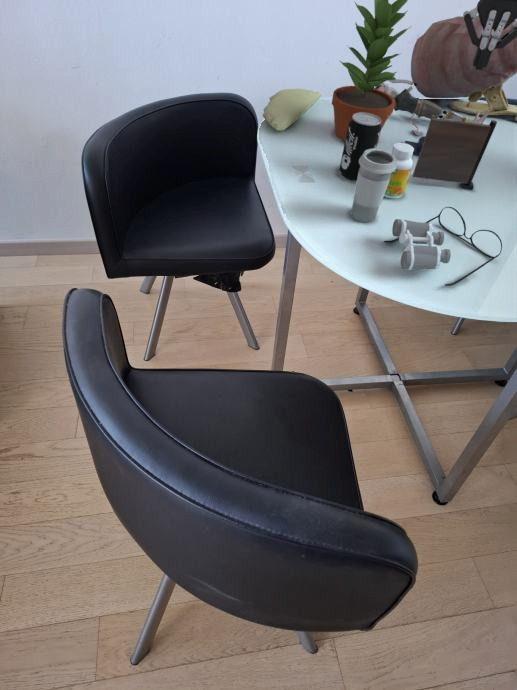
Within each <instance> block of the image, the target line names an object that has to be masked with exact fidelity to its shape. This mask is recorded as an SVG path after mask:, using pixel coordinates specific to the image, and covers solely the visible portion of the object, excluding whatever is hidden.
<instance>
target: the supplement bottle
mask: <svg viewBox="0 0 517 690" xmlns="http://www.w3.org/2000/svg"><path fill="white" fill-rule="evenodd" d="M413 151H414V148H413V147H412V146H411V145H409V144H406V143H405V142H396V143H394V144H393V145H392V149H391V153H392V154H393V155H394V156H395V158H396V161H395V162H396V169H395V171H393V172H392V173H391V178H390V181H389V183H388V186H387V189H386V191H385V194H384V197H383V198H388V199H392V200H393V199H395V200H396V199H400V198H401V197H403V195H404V193H405V190H406V187H407V183H408V181H409V177H410V174H411V171H412V169H413V165H414V161H413V159H412V156H413Z"/></svg>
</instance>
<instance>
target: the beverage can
mask: <svg viewBox="0 0 517 690" xmlns="http://www.w3.org/2000/svg"><path fill="white" fill-rule="evenodd" d="M380 123H381V119H380V118H379V117H378V116H376V115H374V114H370V113H363V112H361V113H356V114H354V115H353V117H352V120H351V121H350V122H349V125H348V130H347V135H346V139H345V141H344V145H343V149H342V154H341V159H340V164H339V172H340V174H341V176H342V177H343V178H345V179H346V180H348V181H352V182H353V181H355V182H357V177H358V172H359V168H360V164H359V159H360V157H361V156H362V155H363V153H364V152H365V151H366V150H368V149H377V148H378V144H379V140H380V135H381V132H382V129H381V125H380Z"/></svg>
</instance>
